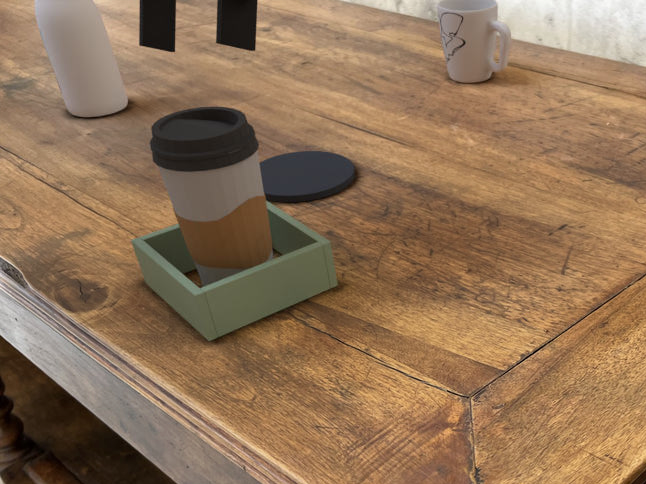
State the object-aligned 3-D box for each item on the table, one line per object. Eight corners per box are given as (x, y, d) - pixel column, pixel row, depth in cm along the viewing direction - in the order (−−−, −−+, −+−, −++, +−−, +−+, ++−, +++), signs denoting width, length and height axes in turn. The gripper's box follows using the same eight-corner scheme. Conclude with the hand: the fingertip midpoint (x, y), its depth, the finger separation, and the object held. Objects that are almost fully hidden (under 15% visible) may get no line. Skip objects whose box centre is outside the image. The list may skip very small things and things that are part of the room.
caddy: (145, 283, 73) (130, 239, 70) (268, 237, 80) (258, 195, 77) (209, 341, 66) (194, 295, 63) (338, 285, 72) (330, 241, 70)
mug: (526, 77, 117) (527, 4, 110) (492, 94, 111) (490, 17, 105) (465, 63, 122) (462, -8, 116) (429, 78, 117) (424, 5, 110)
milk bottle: (141, 104, 109) (91, -60, 97) (91, 122, 104) (32, -48, 92) (106, 95, 113) (53, -65, 100) (56, 111, 108) (-6, -55, 95)
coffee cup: (241, 253, 77) (202, 97, 68) (307, 275, 74) (275, 115, 64) (173, 293, 72) (120, 130, 62) (241, 319, 68) (195, 151, 59)
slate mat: (227, 178, 91) (226, 171, 90) (318, 148, 97) (317, 142, 96) (282, 213, 84) (280, 206, 83) (375, 179, 90) (375, 172, 89)
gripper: (344, -286, 52) (322, 56, 58) (176, -204, 69) (172, 57, 74) (237, -351, 47) (224, 34, 52) (83, -245, 63) (85, 40, 68)
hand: (193, 48), depth 63 cm, fingers open, 13 cm apart
